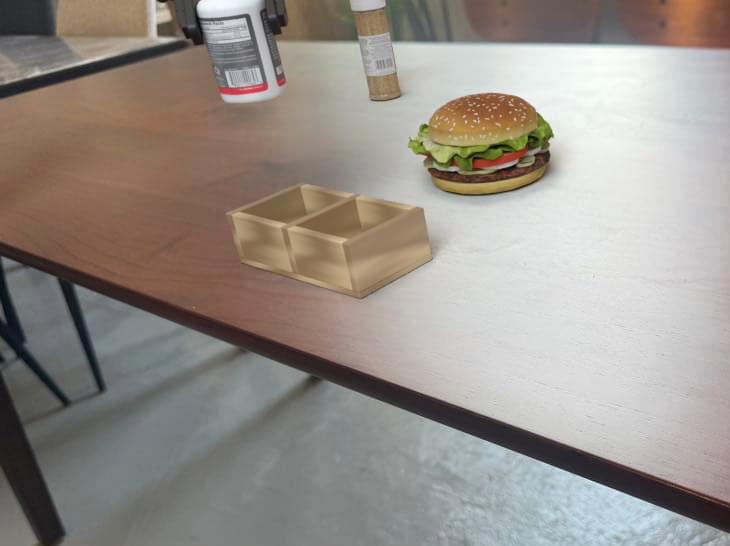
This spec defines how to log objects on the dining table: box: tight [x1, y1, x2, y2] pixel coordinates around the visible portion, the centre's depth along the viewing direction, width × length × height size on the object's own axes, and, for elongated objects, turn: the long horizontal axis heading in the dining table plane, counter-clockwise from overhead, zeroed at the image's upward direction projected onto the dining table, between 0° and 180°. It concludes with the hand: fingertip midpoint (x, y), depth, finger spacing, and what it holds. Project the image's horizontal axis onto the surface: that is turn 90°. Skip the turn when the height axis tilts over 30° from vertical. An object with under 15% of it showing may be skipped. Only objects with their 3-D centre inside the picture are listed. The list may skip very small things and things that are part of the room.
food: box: [407, 91, 555, 195], centre depth 85 cm, size 14×14×8 cm
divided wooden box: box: [225, 182, 433, 300], centre depth 72 cm, size 15×8×4 cm, turn 53°
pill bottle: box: [196, 0, 288, 105], centre depth 68 cm, size 5×5×10 cm
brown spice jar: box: [349, 0, 402, 101], centre depth 117 cm, size 5×5×14 cm
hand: (236, 32), depth 66 cm, fingers closed on pill bottle, 5 cm apart
